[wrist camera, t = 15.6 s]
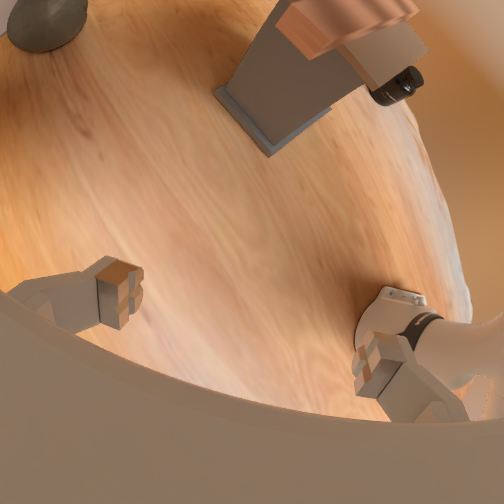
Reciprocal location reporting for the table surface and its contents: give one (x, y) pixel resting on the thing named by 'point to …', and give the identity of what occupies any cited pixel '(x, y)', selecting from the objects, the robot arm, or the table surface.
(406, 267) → the table surface
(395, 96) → the supplement bottle
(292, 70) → the stand
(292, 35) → the bar
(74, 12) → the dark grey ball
